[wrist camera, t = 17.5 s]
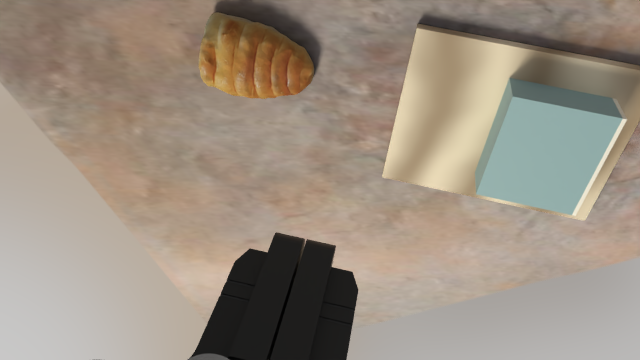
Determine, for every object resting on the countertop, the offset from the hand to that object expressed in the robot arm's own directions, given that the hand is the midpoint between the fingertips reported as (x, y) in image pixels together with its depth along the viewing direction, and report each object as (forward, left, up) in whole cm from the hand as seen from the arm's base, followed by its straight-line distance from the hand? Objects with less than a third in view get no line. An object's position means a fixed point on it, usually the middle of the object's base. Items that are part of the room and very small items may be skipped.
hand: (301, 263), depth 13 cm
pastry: (-11, -10, -32) cm, 35 cm away
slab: (+10, -12, -29) cm, 33 cm away
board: (+11, -12, -32) cm, 36 cm away
